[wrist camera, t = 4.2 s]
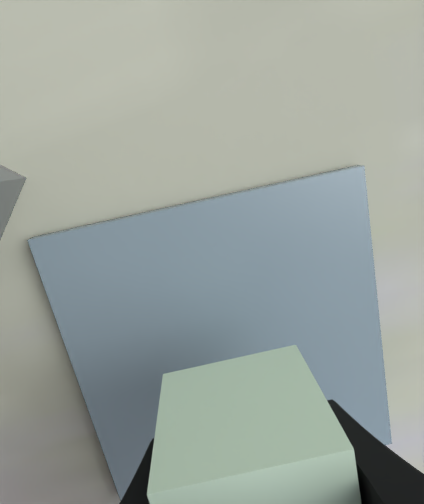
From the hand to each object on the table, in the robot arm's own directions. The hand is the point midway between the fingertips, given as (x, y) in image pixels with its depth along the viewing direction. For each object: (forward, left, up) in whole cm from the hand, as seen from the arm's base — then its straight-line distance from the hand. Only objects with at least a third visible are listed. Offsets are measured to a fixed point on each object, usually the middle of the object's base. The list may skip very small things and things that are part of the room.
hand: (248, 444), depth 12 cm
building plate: (0, 0, -6) cm, 6 cm away
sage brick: (0, 0, -1) cm, 1 cm away
